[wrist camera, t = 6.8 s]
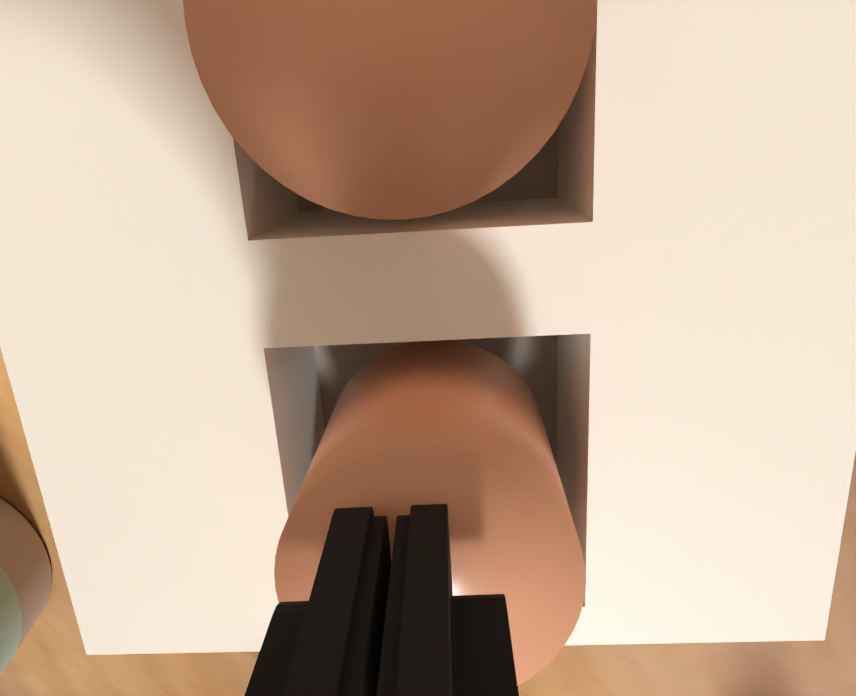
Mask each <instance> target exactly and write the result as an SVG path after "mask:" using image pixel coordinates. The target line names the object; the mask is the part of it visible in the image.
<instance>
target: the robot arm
mask: <svg viewBox="0 0 856 696" xmlns="http://www.w3.org/2000/svg"><path fill="white" fill-rule="evenodd" d="M245 696H519V694H518V686H517V679H516V671H515V664H514V656H513V649H512V642H511V634H510V627H509V619H508V612H507V605H506V598H505V595H504V594H487V595H459V596H453V591H452V574H451V556H450V539H449V521H448V506H447V504H425V505H411V510H410V515H398V516H397V519H396V528H395V536H394V545H393V554H392V563H391V553H390V542H389V532H388V522H387V517H386V516H374V512H373V508H372V507H351V508H336V509H334V512H333V515H332V519H331V522H330V526H329V530H328V533H327V537H326V540H325V544H324V548H323V551H322V555H321V558H320V562H319V566H318V569H317V573H316V576H315V580H314V583H313V587H312V591H311V594H310V598H309V601H289V602H280V603H279V604H278V605H277V606H276V608H275V610H274V612H273V615H272V618H271V620H270V623H269V626H268V629H267V632H266V635H265V638H264V641H263V644H262V647H261V650H260V652H259V655H258V658H257V661H256V664H255V667H254V670H253V673H252V676H251V679H250V682H249V684H248V687H247V690H246V693H245Z"/></svg>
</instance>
